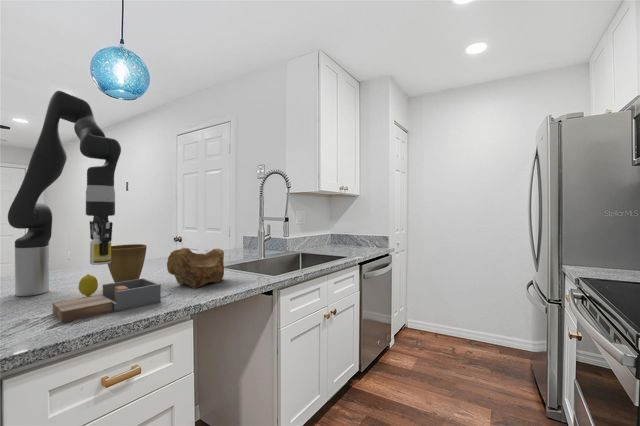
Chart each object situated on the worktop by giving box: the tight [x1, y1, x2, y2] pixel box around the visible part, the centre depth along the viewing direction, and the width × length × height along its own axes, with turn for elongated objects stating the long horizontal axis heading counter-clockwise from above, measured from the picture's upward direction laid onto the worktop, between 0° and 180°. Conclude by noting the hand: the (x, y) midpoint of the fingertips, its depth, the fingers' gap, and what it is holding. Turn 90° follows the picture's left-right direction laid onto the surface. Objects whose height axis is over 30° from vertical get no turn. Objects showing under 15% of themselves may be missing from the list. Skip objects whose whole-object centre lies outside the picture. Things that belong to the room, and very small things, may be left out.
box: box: [100, 278, 162, 313], centre depth 104 cm, size 14×14×6 cm
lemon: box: [78, 273, 99, 297], centre depth 111 cm, size 6×6×8 cm
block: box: [115, 286, 129, 303], centre depth 102 cm, size 5×5×2 cm
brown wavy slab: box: [52, 294, 113, 323], centre depth 94 cm, size 12×12×3 cm
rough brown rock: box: [166, 247, 225, 289], centre depth 129 cm, size 23×17×15 cm
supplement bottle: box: [89, 233, 112, 266], centre depth 98 cm, size 5×5×10 cm
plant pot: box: [107, 243, 148, 283], centre depth 128 cm, size 15×15×16 cm
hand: (100, 254), depth 98 cm, fingers closed on supplement bottle, 5 cm apart
